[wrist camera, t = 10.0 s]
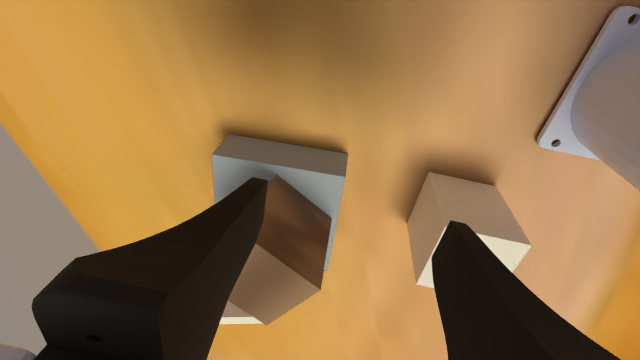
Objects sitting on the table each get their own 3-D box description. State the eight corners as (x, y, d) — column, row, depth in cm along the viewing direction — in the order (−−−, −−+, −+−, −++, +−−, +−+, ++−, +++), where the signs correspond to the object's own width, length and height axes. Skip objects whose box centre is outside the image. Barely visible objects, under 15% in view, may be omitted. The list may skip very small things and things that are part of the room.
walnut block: (332, 218, 22) (320, 289, 17) (288, 253, 25) (266, 325, 19) (276, 174, 21) (246, 237, 16) (235, 215, 23) (198, 281, 18)
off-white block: (495, 186, 23) (531, 245, 18) (467, 236, 26) (491, 300, 21) (428, 171, 23) (445, 226, 18) (406, 223, 26) (416, 284, 21)
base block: (348, 151, 23) (345, 177, 21) (331, 239, 28) (327, 271, 25) (231, 132, 24) (211, 154, 21) (233, 222, 28) (218, 251, 25)
